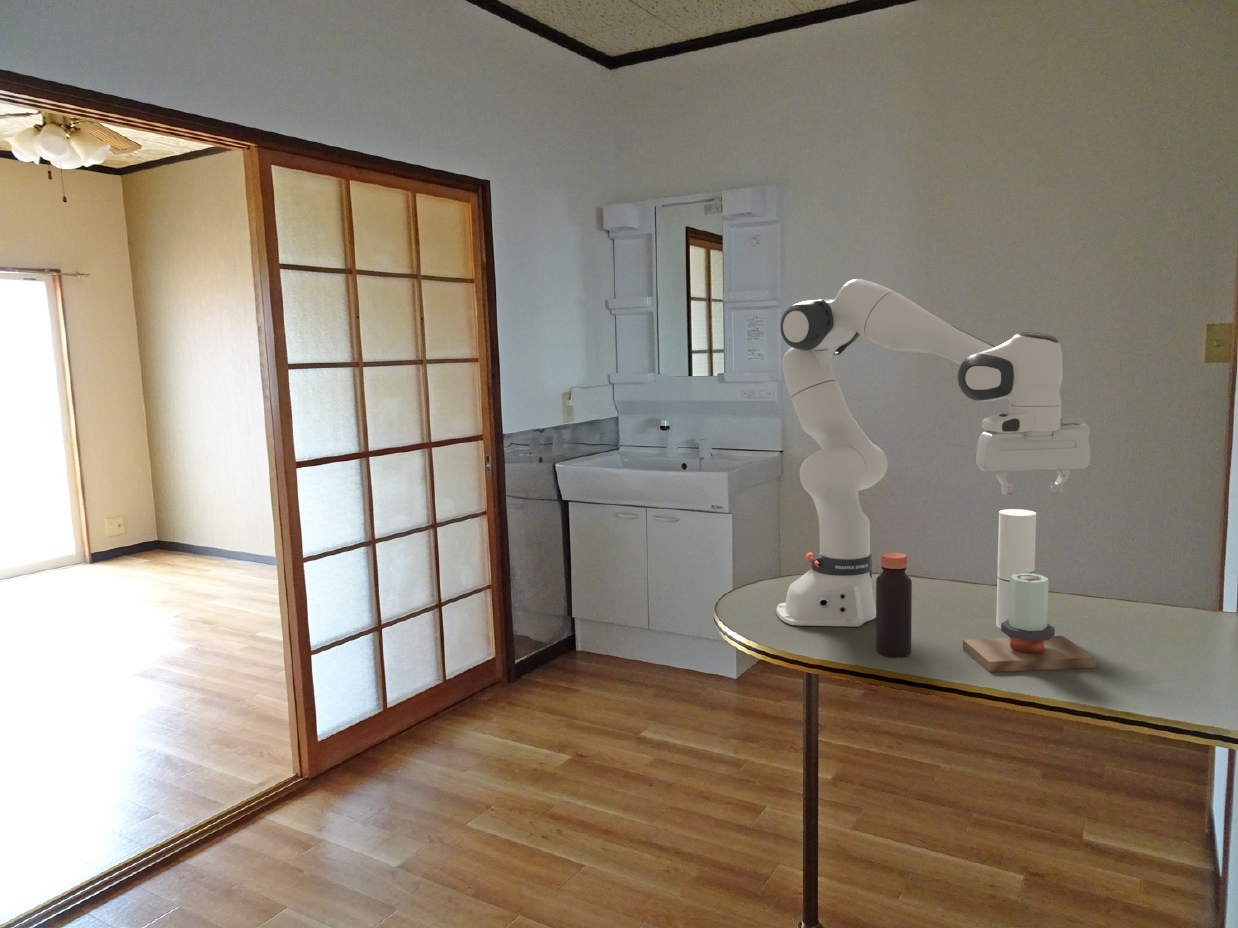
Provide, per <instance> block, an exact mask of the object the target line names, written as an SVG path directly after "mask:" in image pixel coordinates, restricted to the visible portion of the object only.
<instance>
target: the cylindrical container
mask: <svg viewBox="0 0 1238 928" xmlns="http://www.w3.org/2000/svg"><path fill="white" fill-rule="evenodd" d="M1036 531H1037V512H1035V511H1033V510H1029V509H1021V508H1007V509H1001V510H999V511H998V534H997V535H998V539H997V540H998V541H997V575H996V576H997V578H996V579H997V581H996V582H997V583H996V585H997V587H996V620H995V621H996V623H995V626H996V627H997V628H998V629H1000V630H1001V623H1003V622H1004V621H1006V620H1007V619H1009V589H1010V576H1012V575H1013V574H1019V573H1030V574H1035V567H1036V565H1035V563H1036Z"/></svg>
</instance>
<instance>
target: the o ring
mask: <svg viewBox="0 0 1238 928" xmlns="http://www.w3.org/2000/svg"><path fill="white" fill-rule="evenodd" d="M1055 629H1056V628H1055V626H1053V625H1051V623H1048V622H1047V627H1046V628H1045V629H1044V630H1042V631H1026V630H1021V629H1016V628H1014V627H1012V626H1011V625H1009V619H1007V620H1006V621H1004V622H1003V623H1001V629H1000V631H1001V632H1002V633H1003V634H1005V635H1006V636H1007V637H1008V638H1010V637H1012V638H1017V639H1022V640H1026V641H1042V640H1049V639H1050V638H1051V637H1053V636H1055Z"/></svg>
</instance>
